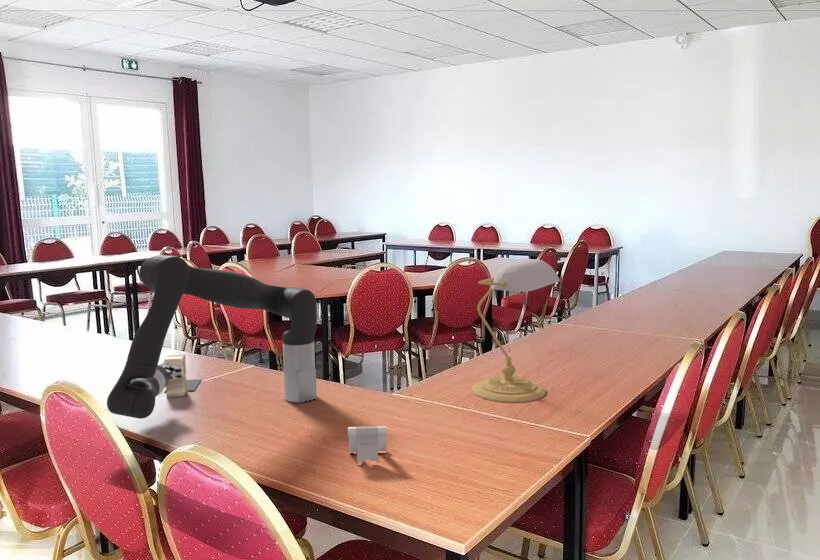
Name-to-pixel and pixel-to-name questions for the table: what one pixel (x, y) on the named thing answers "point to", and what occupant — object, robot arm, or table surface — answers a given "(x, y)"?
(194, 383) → the gray rectangular block
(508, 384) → the desk lamp
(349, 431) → the portable electronic device stand
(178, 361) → the birch block
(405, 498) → the table surface
